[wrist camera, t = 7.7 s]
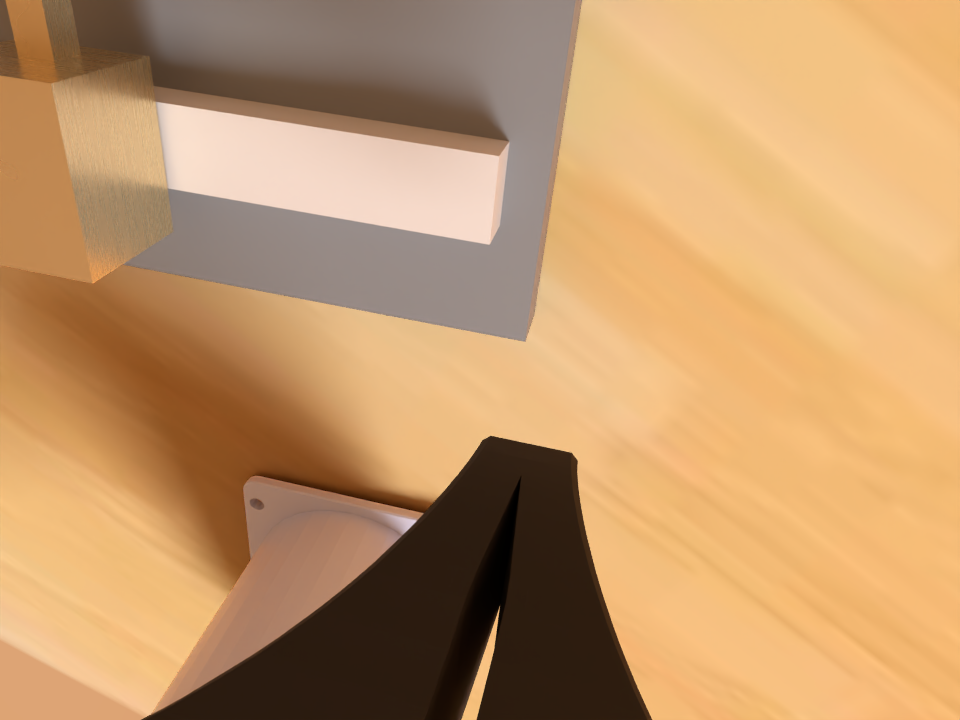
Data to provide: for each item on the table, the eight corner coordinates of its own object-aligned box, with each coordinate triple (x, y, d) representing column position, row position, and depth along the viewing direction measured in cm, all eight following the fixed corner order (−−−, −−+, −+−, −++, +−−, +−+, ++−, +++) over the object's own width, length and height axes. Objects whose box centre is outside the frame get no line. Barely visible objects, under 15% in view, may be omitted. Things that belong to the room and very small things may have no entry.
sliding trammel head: (199, 214, 19) (92, 283, 15) (93, 195, 19) (-35, 258, 16) (158, -138, 15) (0, -154, 11) (25, -153, 15) (-167, -172, 12)
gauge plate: (534, 315, 20) (492, 439, 15) (-156, 186, 23) (-371, 257, 18) (619, -246, 14) (593, -329, 9) (-351, -327, 17) (-758, -422, 12)
